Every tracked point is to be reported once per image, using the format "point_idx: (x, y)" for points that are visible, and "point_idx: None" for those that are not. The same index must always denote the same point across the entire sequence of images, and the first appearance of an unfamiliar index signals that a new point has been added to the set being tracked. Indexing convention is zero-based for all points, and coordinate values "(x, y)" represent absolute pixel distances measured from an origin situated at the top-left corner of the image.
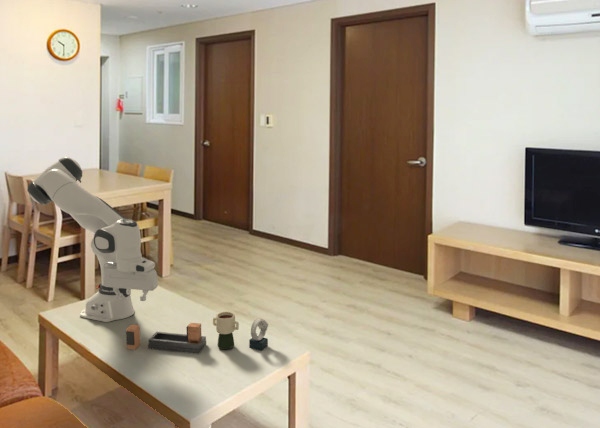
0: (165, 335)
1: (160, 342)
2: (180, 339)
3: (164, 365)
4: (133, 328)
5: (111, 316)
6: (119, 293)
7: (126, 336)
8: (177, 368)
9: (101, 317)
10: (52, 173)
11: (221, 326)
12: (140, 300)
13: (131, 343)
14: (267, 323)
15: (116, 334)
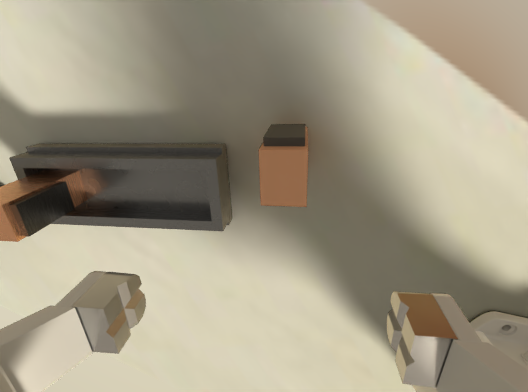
0: (183, 216)
1: (165, 156)
2: (131, 209)
3: (86, 23)
4: (269, 161)
5: (482, 337)
6: (442, 373)
7: (304, 131)
8: (27, 13)
9: (526, 333)
10: None
11: None
12: (132, 274)
13: (281, 125)
14: None
15: (408, 230)
